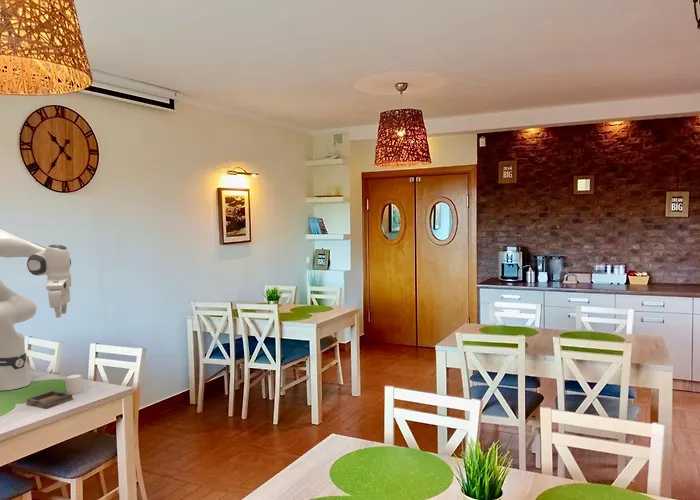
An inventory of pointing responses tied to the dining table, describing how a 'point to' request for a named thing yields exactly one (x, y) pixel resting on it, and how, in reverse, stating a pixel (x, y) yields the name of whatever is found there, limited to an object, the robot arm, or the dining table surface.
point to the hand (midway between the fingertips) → (61, 315)
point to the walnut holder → (49, 399)
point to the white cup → (74, 383)
